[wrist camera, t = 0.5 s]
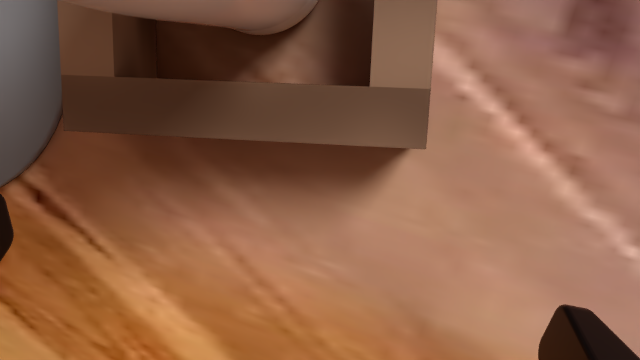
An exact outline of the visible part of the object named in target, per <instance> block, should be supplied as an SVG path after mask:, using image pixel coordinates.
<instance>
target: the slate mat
mask: <svg viewBox="0 0 640 360" xmlns="http://www.w3.org/2000/svg"><path fill="white" fill-rule="evenodd" d="M62 112H63V105H62V85H61V66H60V46H59V27H58V7H57V0H0V187H1V186H3V185H5V184H7V183H9V182H10V181H11V180H13V179H14V178H16V177H17V176H18V175H20V174H21V173H22V172H24V171H25V170H26V169H27V168H28V167H29V166H30V165H31V164H32V163H33V162H34V161H35V160H36V159H37V157H38V156H39V155H40V153H41V152H42V151H43V149H44V148H45V147H46V146H47V144H48V142H49V140H50V138H51V137H52V135H53V133H54V131H55V130H56V128H57V125H58V123H59V120H60V117H61V115H62Z"/></svg>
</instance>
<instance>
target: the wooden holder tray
mask: <svg viewBox="0 0 640 360" xmlns="http://www.w3.org/2000/svg"><path fill="white" fill-rule="evenodd" d="M57 7H58V27H59V46H60V66H61V85H62V105H63V124H64V131H78V132H98V133H117V134H137V135H157V136H176V137H196V138H215V139H235V140H254V141H274V142H294V143H313V144H333V145H352V146H372V147H391V148H411V149H426V144H427V130H428V117H429V104H430V91H431V78H432V65H433V51H434V38H435V25H436V12H437V0H374V19H373V37H372V55H371V73H370V87H367V86H341V85H315V84H289V83H263V82H237V81H211V80H185V79H159V78H157V61H156V20H151V19H144V18H136V17H130V16H124V15H118V14H113V13H107V12H102V11H97V10H93V9H88V8H84V7H80V6H76V5H72V4H69V3H65V2H61V1H58V0H57Z"/></svg>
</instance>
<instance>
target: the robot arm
mask: <svg viewBox="0 0 640 360" xmlns="http://www.w3.org/2000/svg"><path fill="white" fill-rule="evenodd" d="M13 236H14V232H13V227H12V224H11V220H10V216H9V212H8V209H7V205H6V201H5V199H4V197H3V196H2V195H1V194H0V261H1V260H2V258H3V257H4V255H5V254H6V252H7V251H8V249H9V248H10V246H11V244H12V241H13ZM538 359H539V360H640V358H639V357H638V356H637V355H636V354H635V353H634V352H633V351H632V350H631V349H630V348H629V347H628V346H627V345H626V344H625V343H624V342H623V341H622V340H621V339H620V338H619V337H617V336H616V335H615V334H614V333H613V332H612V331H611V330H610V329H609V328H608V327H607V326H606V325H605V324H604V323H603V322H602V321H601V320H600V319H599V318H598V317H597V316H596V315H595V314H594V313H593V312H592V311H590V310H589V309H586V308H581V307H576V306H571V305H561V306H559V307H558V308H557V309H556V311H555V313H554V315H553V317H552V319H551V321H550V323H549V325H548V326H547V328H546V330H545V332H544V334H543V336H542V338H541V341H540V344H539V350H538Z"/></svg>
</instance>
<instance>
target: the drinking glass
mask: <svg viewBox="0 0 640 360" xmlns="http://www.w3.org/2000/svg"><path fill="white" fill-rule="evenodd" d="M58 1H61V2H65V3H69V4H72V5H76V6H80V7H84V8H88V9H93V10H97V11H102V12H107V13H113V14H118V15H124V16H130V17H136V18H144V19H151V20H160V21H170V22H179V23H189V24H198V25H207V26H215V27H223V28H230V29H234V30H236V31H239V32H243V33H247V34H253V35H268V34H274V33H278V32H281V31H284V30H286V29H288V28H291V27H292V26H294V25H296V24H297V23H299V22H300V21H301V20H302V19H304V18H305V17H306V16H307V15H308V14H309V13H310V12H311V10H312V9H313V8H314V6H315V5H316V4H317V2H318V0H58Z"/></svg>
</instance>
